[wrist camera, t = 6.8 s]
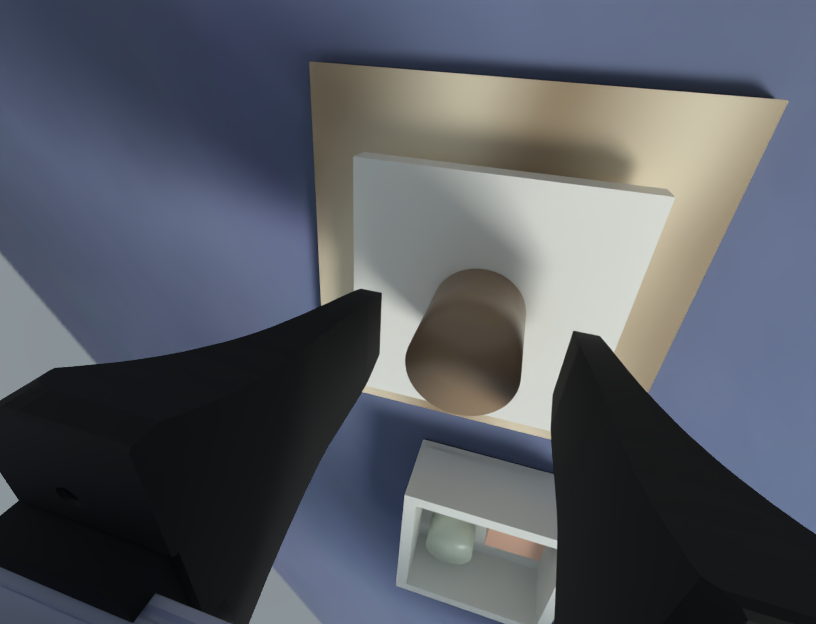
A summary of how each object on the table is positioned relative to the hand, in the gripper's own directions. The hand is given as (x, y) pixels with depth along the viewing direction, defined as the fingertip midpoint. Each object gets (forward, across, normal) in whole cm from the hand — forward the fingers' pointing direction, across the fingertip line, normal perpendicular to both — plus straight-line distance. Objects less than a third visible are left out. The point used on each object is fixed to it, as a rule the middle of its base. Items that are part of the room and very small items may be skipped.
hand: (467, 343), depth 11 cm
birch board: (+4, 0, 0) cm, 4 cm away
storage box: (+4, -2, +12) cm, 13 cm away
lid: (+3, 0, 0) cm, 3 cm away
